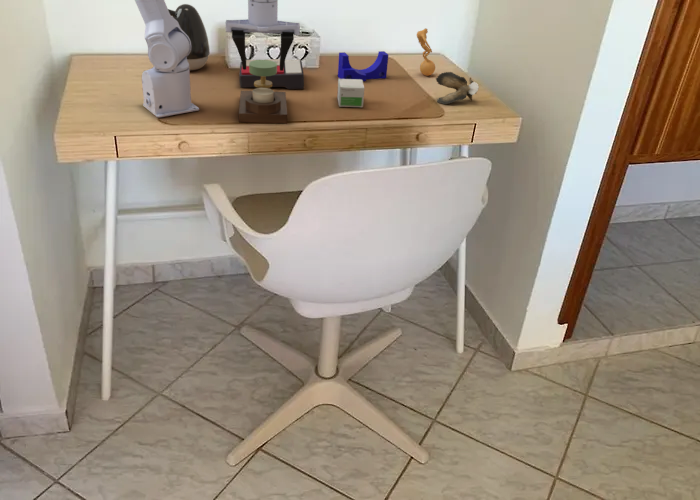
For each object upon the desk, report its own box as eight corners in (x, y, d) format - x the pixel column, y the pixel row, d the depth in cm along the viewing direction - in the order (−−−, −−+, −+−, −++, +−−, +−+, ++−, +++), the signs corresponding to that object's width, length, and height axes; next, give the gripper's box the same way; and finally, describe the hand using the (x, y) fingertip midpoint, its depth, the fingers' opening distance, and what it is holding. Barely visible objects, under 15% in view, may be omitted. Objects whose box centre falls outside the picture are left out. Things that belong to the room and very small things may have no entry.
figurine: (439, 80, 173) (446, 32, 166) (417, 80, 171) (423, 32, 165) (427, 70, 179) (433, 24, 173) (406, 70, 178) (411, 24, 171)
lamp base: (287, 123, 141) (287, 105, 139) (238, 122, 140) (238, 104, 138) (285, 100, 153) (285, 83, 151) (240, 99, 152) (240, 81, 149)
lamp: (277, 90, 146) (277, 68, 144) (249, 89, 146) (248, 67, 143) (276, 81, 151) (276, 60, 149) (249, 80, 151) (249, 59, 148)
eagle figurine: (462, 88, 165) (430, 83, 161) (477, 69, 159) (445, 63, 155) (469, 113, 162) (436, 109, 158) (485, 95, 156) (452, 90, 152)
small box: (338, 107, 151) (339, 86, 149) (336, 98, 156) (337, 77, 153) (363, 108, 152) (365, 87, 149) (361, 99, 157) (362, 78, 154)
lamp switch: (273, 104, 140) (273, 95, 139) (252, 104, 139) (252, 94, 138) (273, 97, 144) (273, 87, 143) (252, 96, 143) (252, 87, 142)
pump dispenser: (163, 62, 170) (158, 0, 162) (204, 60, 174) (201, -2, 166) (172, 75, 162) (167, 10, 154) (215, 72, 166) (212, 8, 158)
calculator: (240, 58, 165) (301, 57, 166) (241, 75, 167) (301, 74, 169) (238, 72, 156) (303, 71, 157) (240, 90, 158) (304, 89, 160)
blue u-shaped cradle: (343, 82, 166) (344, 58, 163) (337, 76, 170) (339, 52, 167) (388, 80, 170) (390, 56, 167) (382, 74, 174) (384, 51, 170)
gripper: (223, 2, 126) (226, 73, 134) (301, 5, 128) (299, 75, 135) (225, -6, 132) (227, 62, 140) (299, -3, 134) (297, 65, 141)
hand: (263, 68), depth 138 cm, fingers open, 7 cm apart
